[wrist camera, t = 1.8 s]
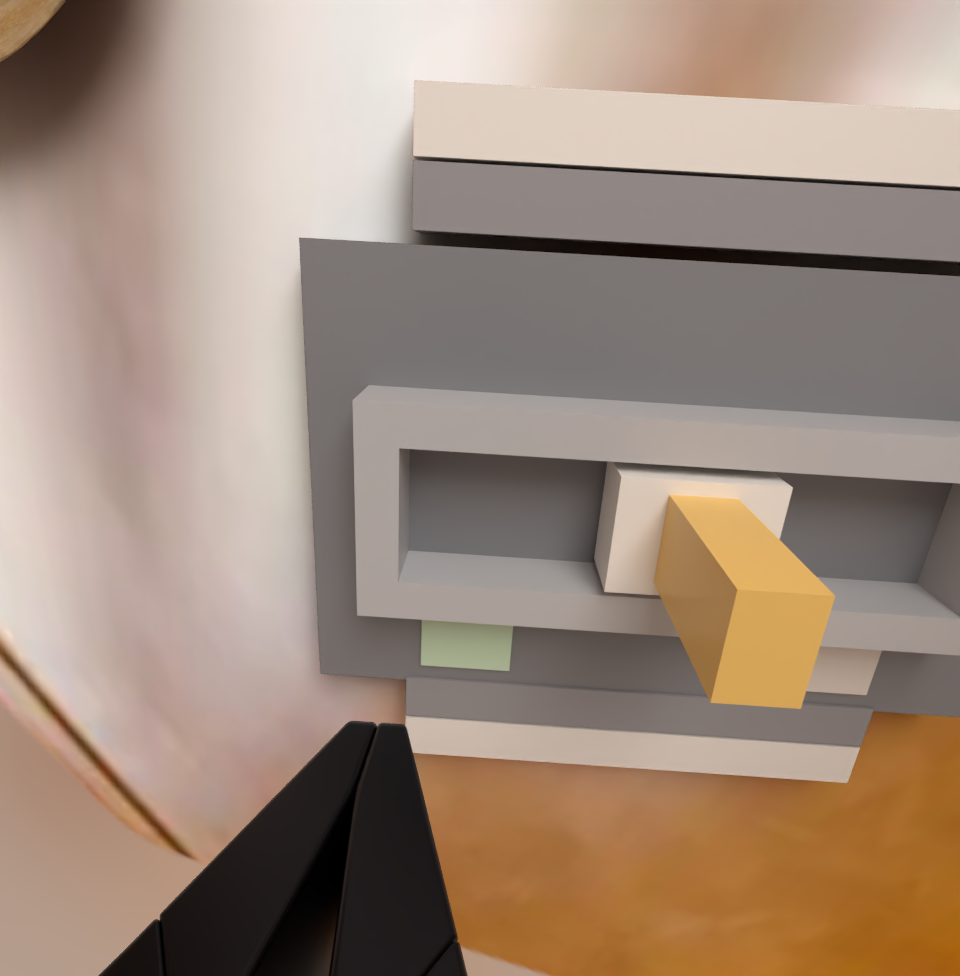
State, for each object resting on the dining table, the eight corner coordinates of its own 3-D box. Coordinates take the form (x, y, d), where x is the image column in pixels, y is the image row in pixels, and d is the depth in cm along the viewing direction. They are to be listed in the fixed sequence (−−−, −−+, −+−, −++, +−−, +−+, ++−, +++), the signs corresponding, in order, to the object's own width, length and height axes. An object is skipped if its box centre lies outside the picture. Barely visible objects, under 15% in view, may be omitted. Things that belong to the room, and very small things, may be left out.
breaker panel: (1089, 285, 17) (1230, 290, 14) (929, 687, 22) (1004, 762, 19) (315, 239, 17) (271, 234, 14) (331, 647, 22) (302, 714, 19)
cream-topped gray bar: (1032, 130, 16) (1088, 117, 14) (987, 265, 17) (1034, 265, 15) (422, 97, 16) (414, 79, 14) (419, 232, 17) (412, 229, 16)
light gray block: (848, 679, 22) (873, 709, 20) (824, 749, 23) (847, 782, 22) (412, 649, 22) (406, 677, 21) (411, 720, 23) (405, 752, 22)
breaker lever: (761, 463, 17) (913, 581, 11) (736, 567, 18) (860, 729, 12) (608, 453, 17) (670, 565, 11) (594, 558, 18) (642, 714, 12)
